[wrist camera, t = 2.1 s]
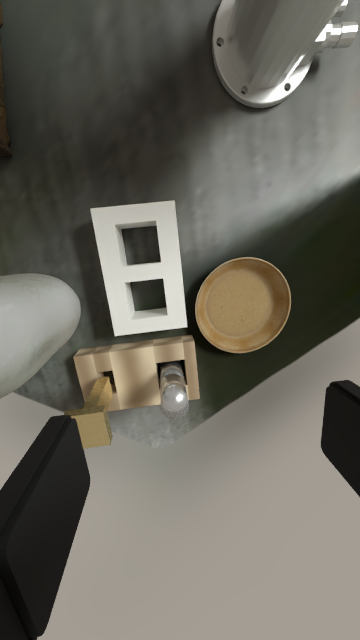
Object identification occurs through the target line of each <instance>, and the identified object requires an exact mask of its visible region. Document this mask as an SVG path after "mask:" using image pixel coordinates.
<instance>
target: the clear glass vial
mask: <svg viewBox="0 0 360 640" xmlns="http://www.w3.org/2000/svg"><path fill="white" fill-rule="evenodd" d="M160 408H161V411H162V413H163V414H164V415H165V416H166V417H168V418H172V419H175V418H180V417H182V416H184V415H185V414H186V413H187V411H188V409H189V402H188V397H187V392H186V386H185V381H184V376H183V371H182V365H181V362H180V360H176V361H169V362H161V366H160Z"/></svg>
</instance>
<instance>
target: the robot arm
mask: <svg viewBox="0 0 360 640" xmlns="http://www.w3.org/2000/svg"><path fill="white" fill-rule="evenodd" d="M347 1H348V0H222V1H221V3H220V6H219V9H218V11H217V14H216V19H215V23H214V27H213V35H212V55H213V61H214V66H215V69H216V72H217V75H218V77H219V79H220V81H221V83H222V85H223V86H224V88H225V89H226V90H227V92H228V93H229V94H230V95H231V96H232V97H233V98H234V99H236V100H237V101H238V102H240V103H242V104H244V105H246V106H250V107H253V108H266V107H271V106H274V105H276V104H278V103H281V102H282V101H283V100H285V99H286V98H288V97H289V96H290V95H291V94H292V93H293V92H294V91H295V90H296V88H297V87H298V86H299V85H300V83H301V82H302V81H303V79H304V77H305V76H306V74H307V72H308V70H309V68H310V65H311V63H312V60H313V56H314V54H315V53H321V52H322V51H324V49H325V48H346V47H349V46H350V45H351V44H352V42H353V40H354V38H355V36H356V33H357V28H358V24H357V22H356V21H351V22H340V23H339V24H332V21H331V19H332V17H340V16H341V15H342V14H343V13H344V11H345V8H346V6H347ZM242 93H243V94H242ZM321 448H322V451H323V453H324V454H325V456H326V457H327V458H328V459H329V461H330V462H331V463H332V464H333V465H334V467H335V468H336V469H337V470H338V471H339V472H340V474H341V475H342V476H343V477H344V479H345V480H346V481H347V482H348V483H349V485H350V486H351V487H352V488H353V489H354V491H355V492H356V493H357V494H358V495H359V497H360V387H359V386H358V385H356V384H355V383H353V382H351V381H349V380H344V381H335V382H332V383H330V385H329V387H327V388H326V396H325V407H324V417H323V427H322V437H321ZM89 487H90V475H89V470H88V466H87V462H86V459H85V454H84V450H83V446H82V442H81V437H80V433H79V429H78V425H77V421H76V419H75V418H71V416H70V415H61V416H53V417H51V418H50V419H49V420H48V422H47V423H46V425H45V426H44V427H43V429H42V430H41V432H40V433H39V435H38V436H37V438H36V439H35V441H34V442H33V444H32V445H31V446H30V448H29V449H28V451H27V452H26V454H25V455H24V457H23V458H22V460H21V461H20V463H19V464H18V466H17V467H16V468H15V470H14V471H13V472H12V474H11V476H10V477H9V478H8V480H7V481H6V483H5V484H4V486H3V487H2V489H1V490H0V640H37V637H39V636H41V635H43V633H44V631H45V629H46V627H47V624H48V621H49V618H50V615H51V612H52V608H53V605H54V602H55V598H56V595H57V592H58V589H59V585H60V582H61V579H62V576H63V572H64V569H65V566H66V562H67V559H68V556H69V553H70V549H71V546H72V543H73V540H74V536H75V533H76V530H77V526H78V523H79V520H80V517H81V514H82V510H83V507H84V503H85V500H86V497H87V494H88V491H89Z"/></svg>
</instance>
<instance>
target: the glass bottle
mask: <svg viewBox="0 0 360 640" xmlns="http://www.w3.org/2000/svg"><path fill="white" fill-rule="evenodd" d="M80 315H81V308H80V301H79V299H78V296H77V295H76V293H75V292H74V291H73V290H72V289H71V287H70V286H68V285H67V284H66V283H65V282H63V281H62V280H60V279H58V278H55V277H52V276H49V275H44V274H35V273H24V274H14V275H6V276H0V398H2V397H4V396H6V395H8V394H9V393H11V392H13V391H14V390H16V389H17V388H19V387H20V386H21V385H23V384H24V383H25V382H26V381H28V380H29V379H30V378H31V377H32V376H33V375H35V374H36V373H37V372H38V371H39V369H40V368H41V367H42V366H43V365H44V364H45V363H46V362H47V361H48V360H49V359H50V358H51V357H52V356H53V355H54V354H55V353H56V352H57V351H58V350H59V349H60V348H61V347H62V346H63V345H64V344H65V343H66V342H67V341H68V340H69V339H70V338H71V336H72V335H73V333H74V331H75V330H76V328H77V326H78V323H79V320H80Z"/></svg>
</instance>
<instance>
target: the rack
mask: <svg viewBox="0 0 360 640" xmlns="http://www.w3.org/2000/svg"><path fill="white" fill-rule="evenodd" d="M90 211H91V216H92V221H93V226H94V231H95V236H96V242H97V247H98V252H99V257H100V262H101V267H102V273H103V278H104V283H105V288H106V293H107V298H108V304H109V309H110V314H111V319H112V324H113V329H114V335H115V336H120V335H128V334H136V333H144V332H152V331H160V330H168V329H176V328H184V327H187V318H186V308H185V299H184V289H183V279H182V269H181V259H180V249H179V239H178V229H177V219H176V210H175V200H173V201H163V202H153V203H142V204H132V205H122V206H112V207H101V208H91V209H90ZM147 226H157V233H158V241H159V249H160V257H161V262H153V263H144V264H135V265H127V261H126V255H125V249H124V243H123V236H122V230H121V229H128V228H138V227H147ZM162 278H163V281H164V289H165V297H166V306H167V308H159V309H150V310H142V311H135V310H134V304H133V298H132V292H131V285H130V282H136V281H144V280H153V279H162Z"/></svg>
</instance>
